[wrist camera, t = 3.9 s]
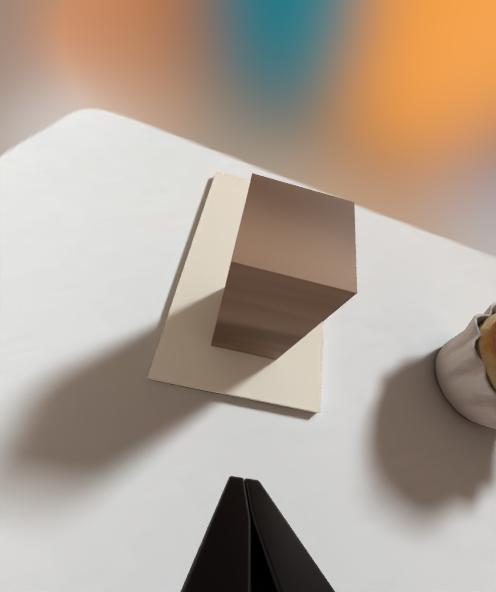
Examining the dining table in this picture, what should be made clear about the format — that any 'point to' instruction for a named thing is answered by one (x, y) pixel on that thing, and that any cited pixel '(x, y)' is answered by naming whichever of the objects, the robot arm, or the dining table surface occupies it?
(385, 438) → the dining table surface
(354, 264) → the walnut block
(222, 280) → the beige mat
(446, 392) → the cupcake
